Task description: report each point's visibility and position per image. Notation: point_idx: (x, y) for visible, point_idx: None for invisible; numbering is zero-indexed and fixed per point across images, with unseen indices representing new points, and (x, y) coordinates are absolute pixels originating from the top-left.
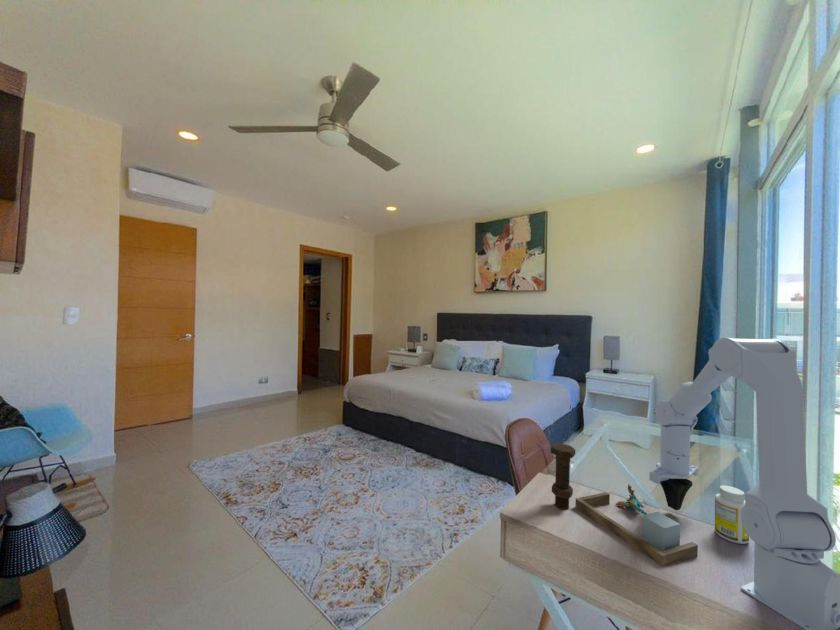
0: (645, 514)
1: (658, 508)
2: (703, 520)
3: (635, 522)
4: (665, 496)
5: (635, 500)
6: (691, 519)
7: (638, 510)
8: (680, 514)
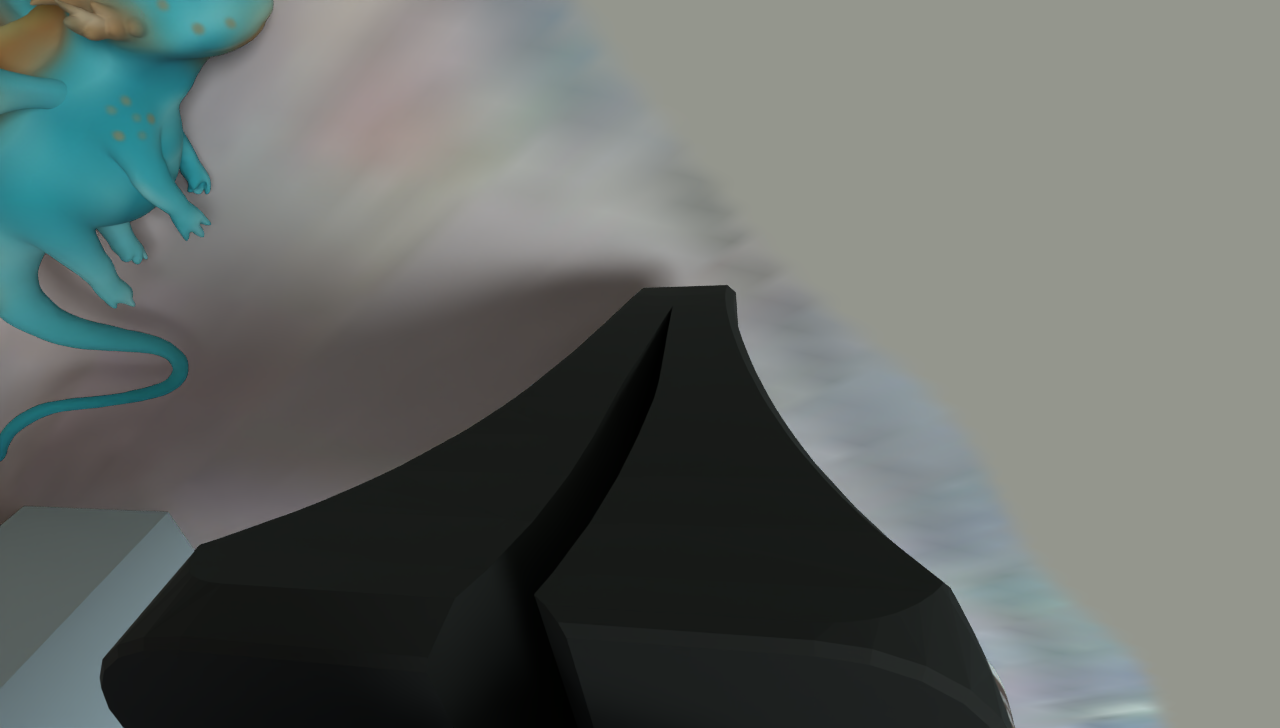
0: (101, 404)
1: (595, 135)
2: (936, 486)
3: (77, 302)
4: (571, 355)
5: (6, 212)
6: (804, 436)
7: (112, 247)
8: (782, 333)
